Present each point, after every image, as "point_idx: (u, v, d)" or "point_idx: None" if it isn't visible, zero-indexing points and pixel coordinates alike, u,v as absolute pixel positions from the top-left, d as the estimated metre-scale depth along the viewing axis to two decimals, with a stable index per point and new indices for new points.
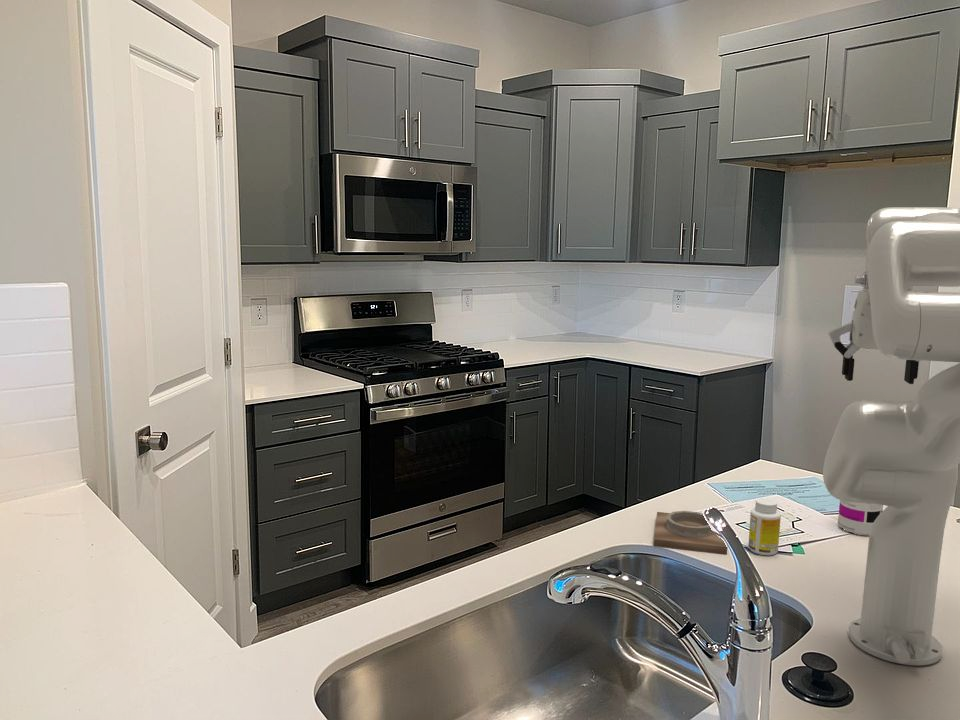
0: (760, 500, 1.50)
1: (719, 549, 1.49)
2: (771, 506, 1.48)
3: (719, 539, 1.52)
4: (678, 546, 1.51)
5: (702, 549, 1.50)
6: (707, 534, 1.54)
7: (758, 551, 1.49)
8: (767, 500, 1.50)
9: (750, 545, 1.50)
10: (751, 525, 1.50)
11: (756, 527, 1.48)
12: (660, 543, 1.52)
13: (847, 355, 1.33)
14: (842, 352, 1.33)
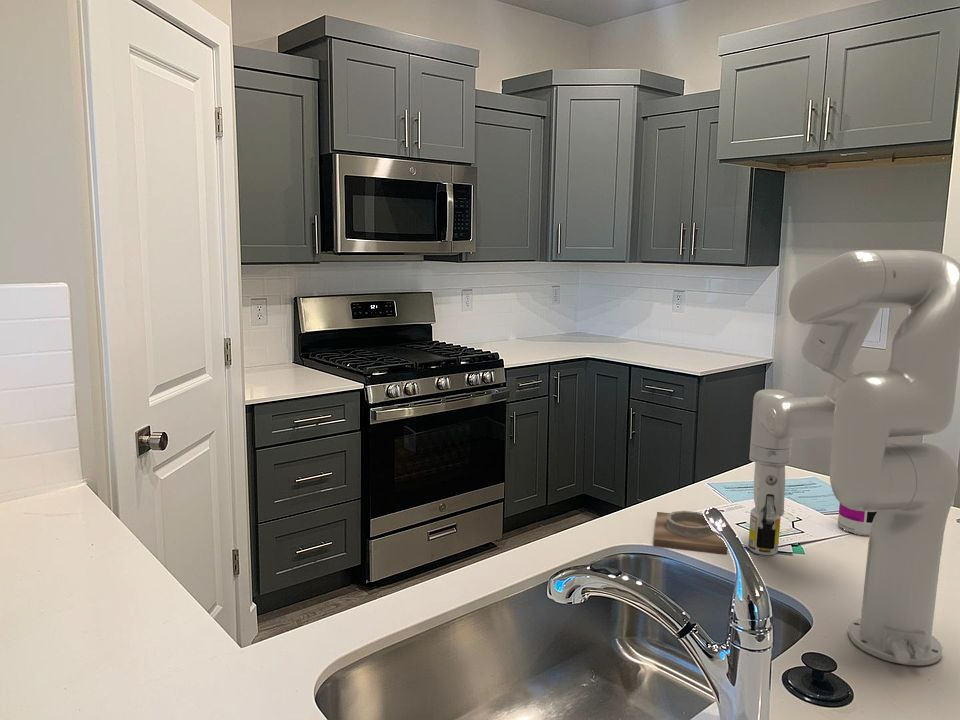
0: None
1: (719, 549, 1.49)
2: None
3: (719, 539, 1.52)
4: (678, 546, 1.51)
5: (702, 549, 1.50)
6: (707, 534, 1.54)
7: (758, 551, 1.49)
8: None
9: (750, 545, 1.50)
10: (751, 525, 1.50)
11: (756, 527, 1.48)
12: (660, 543, 1.52)
13: None
14: (772, 527, 1.45)
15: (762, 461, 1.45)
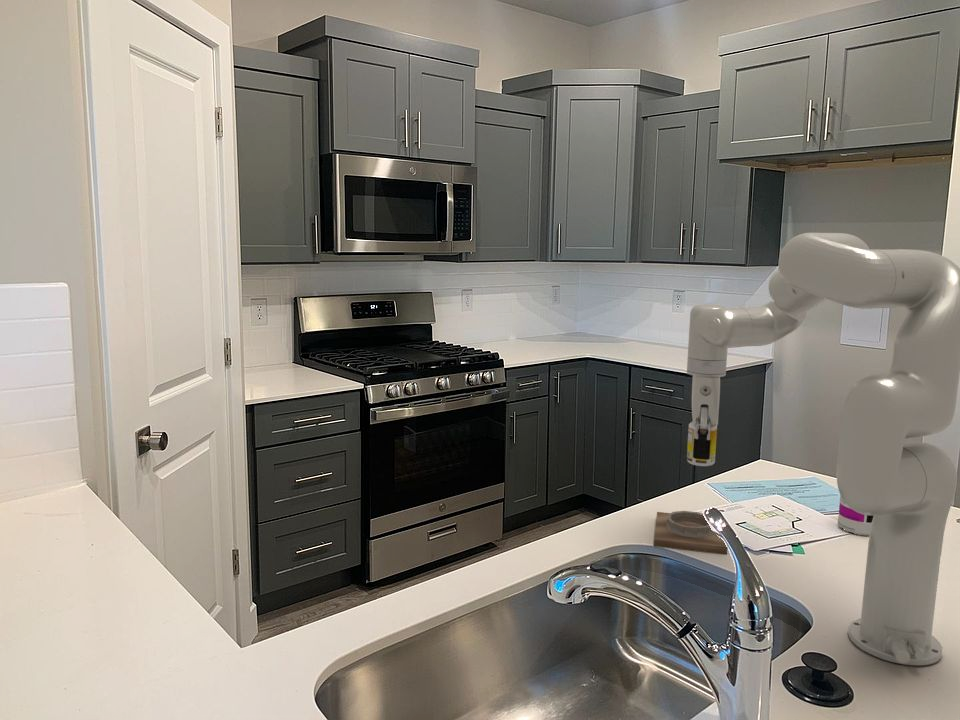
0: None
1: (719, 549, 1.49)
2: None
3: (719, 539, 1.52)
4: (678, 546, 1.51)
5: (702, 549, 1.50)
6: (707, 534, 1.54)
7: (694, 462, 1.53)
8: None
9: (688, 457, 1.55)
10: (689, 437, 1.54)
11: (693, 438, 1.53)
12: (660, 543, 1.52)
13: None
14: (706, 437, 1.50)
15: (697, 373, 1.49)
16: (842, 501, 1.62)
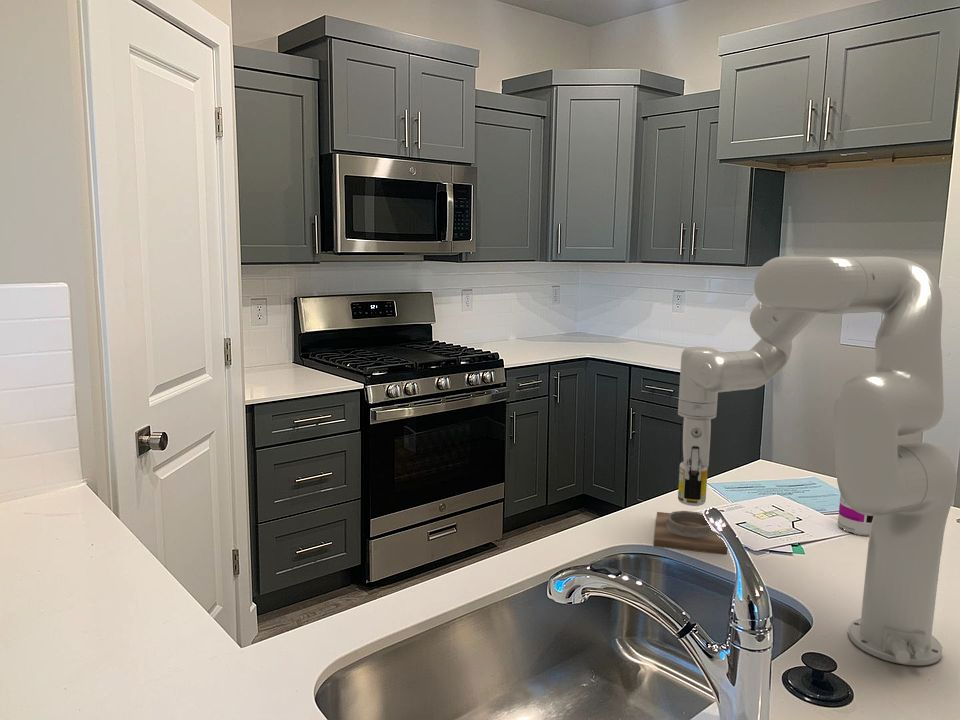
0: None
1: (719, 549, 1.49)
2: None
3: (719, 539, 1.52)
4: (678, 546, 1.51)
5: (702, 549, 1.50)
6: (707, 534, 1.54)
7: (685, 502, 1.55)
8: None
9: (679, 496, 1.57)
10: (680, 477, 1.56)
11: (684, 478, 1.55)
12: (660, 543, 1.52)
13: None
14: (697, 478, 1.52)
15: (688, 415, 1.51)
16: (842, 501, 1.62)
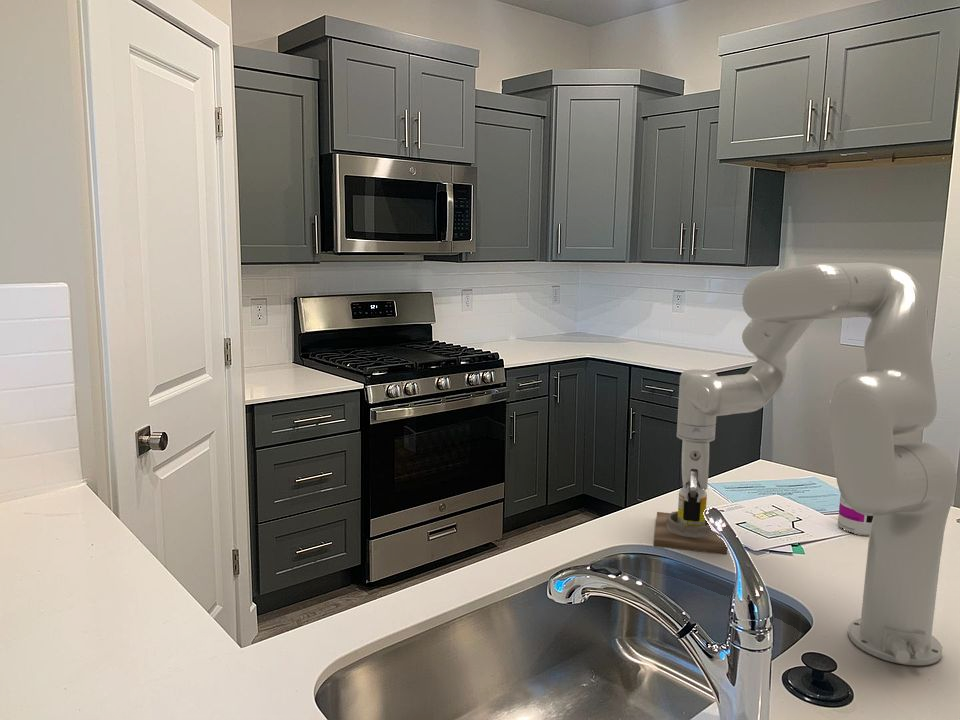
0: None
1: (719, 549, 1.49)
2: (697, 485, 1.55)
3: (719, 539, 1.52)
4: (678, 546, 1.51)
5: (702, 549, 1.50)
6: (707, 534, 1.54)
7: None
8: None
9: None
10: (679, 504, 1.57)
11: (683, 505, 1.55)
12: (660, 543, 1.52)
13: None
14: (696, 500, 1.51)
15: (687, 437, 1.52)
16: (842, 501, 1.62)
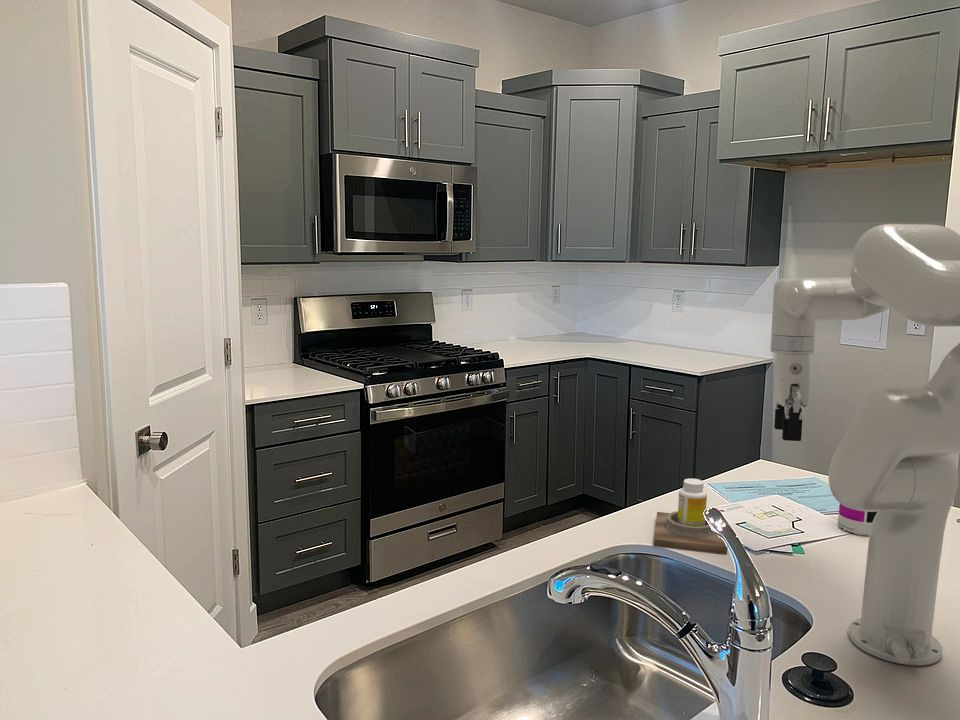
0: (687, 480, 1.57)
1: (719, 549, 1.49)
2: (697, 485, 1.55)
3: (719, 539, 1.52)
4: (678, 546, 1.51)
5: (702, 549, 1.50)
6: (707, 534, 1.54)
7: None
8: (694, 480, 1.57)
9: None
10: (679, 504, 1.57)
11: (683, 505, 1.55)
12: (660, 543, 1.52)
13: None
14: (799, 415, 1.37)
15: (785, 350, 1.39)
16: None
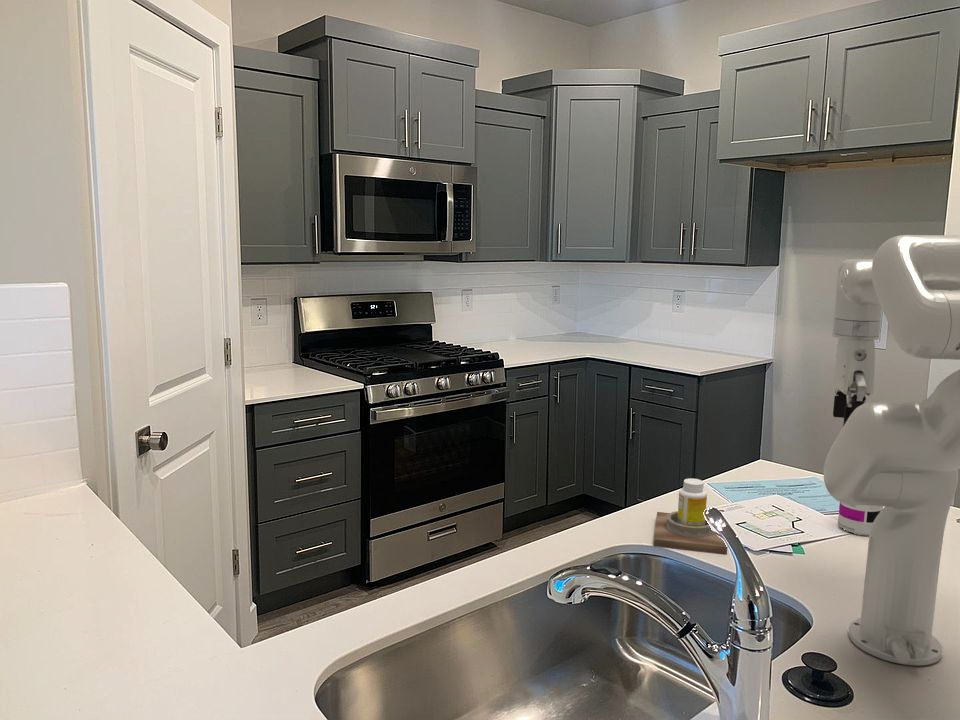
0: (687, 480, 1.57)
1: (719, 549, 1.49)
2: (697, 485, 1.55)
3: (719, 539, 1.52)
4: (678, 546, 1.51)
5: (702, 549, 1.50)
6: (707, 534, 1.54)
7: None
8: (694, 480, 1.57)
9: None
10: (679, 504, 1.57)
11: (683, 505, 1.55)
12: (660, 543, 1.52)
13: None
14: (862, 404, 1.31)
15: (849, 335, 1.32)
16: None
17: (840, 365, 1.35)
